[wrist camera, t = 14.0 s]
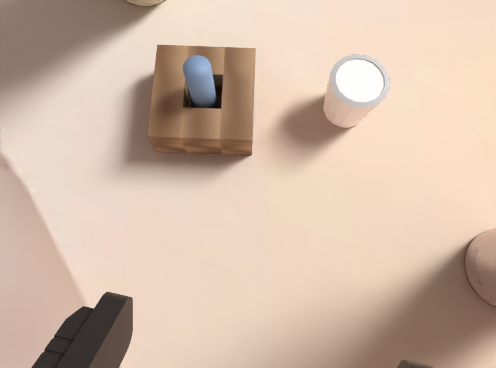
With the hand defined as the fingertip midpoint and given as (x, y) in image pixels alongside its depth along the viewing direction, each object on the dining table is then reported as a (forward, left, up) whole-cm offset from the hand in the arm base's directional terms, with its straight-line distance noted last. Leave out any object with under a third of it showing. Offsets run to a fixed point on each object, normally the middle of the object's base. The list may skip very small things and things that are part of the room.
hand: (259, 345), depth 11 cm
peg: (+6, -24, -33) cm, 41 cm away
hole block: (+6, -24, -33) cm, 41 cm away
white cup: (-12, -25, -33) cm, 43 cm away
